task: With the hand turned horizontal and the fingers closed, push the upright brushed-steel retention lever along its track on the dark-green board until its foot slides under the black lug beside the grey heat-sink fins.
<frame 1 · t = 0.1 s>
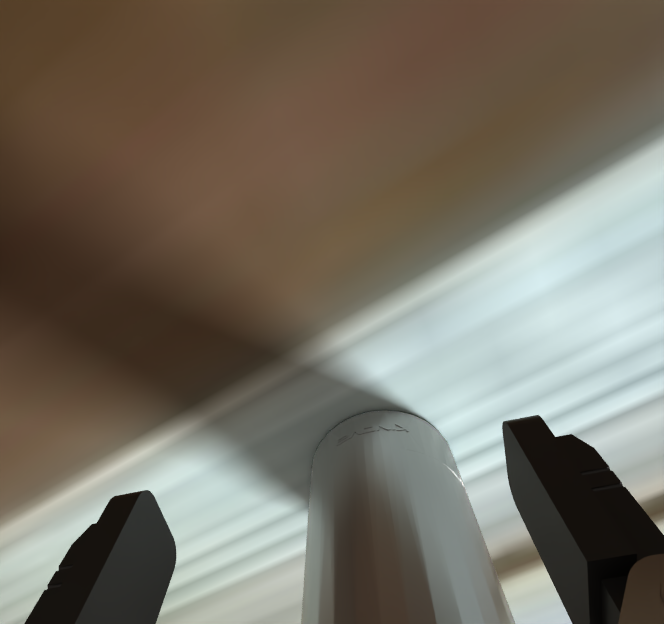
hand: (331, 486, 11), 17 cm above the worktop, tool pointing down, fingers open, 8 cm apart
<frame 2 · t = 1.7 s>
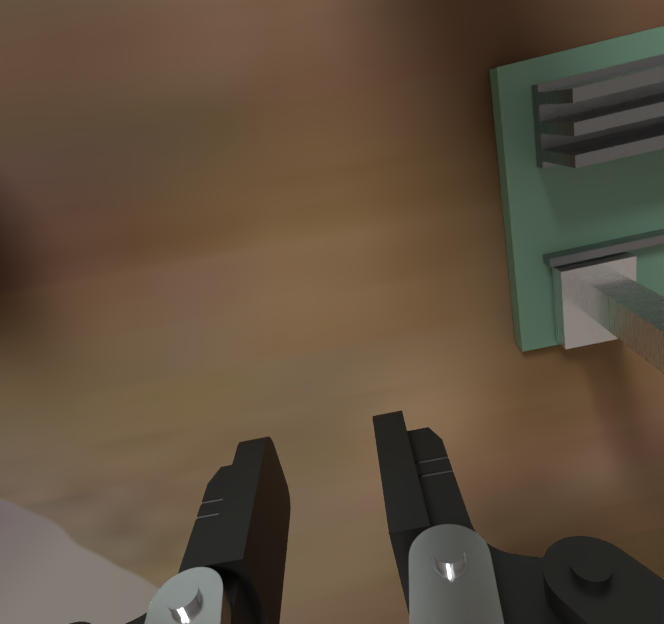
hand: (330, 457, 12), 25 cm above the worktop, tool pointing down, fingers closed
heatsink: (661, 185, 34), resting on board
board: (661, 185, 34), on the worktop
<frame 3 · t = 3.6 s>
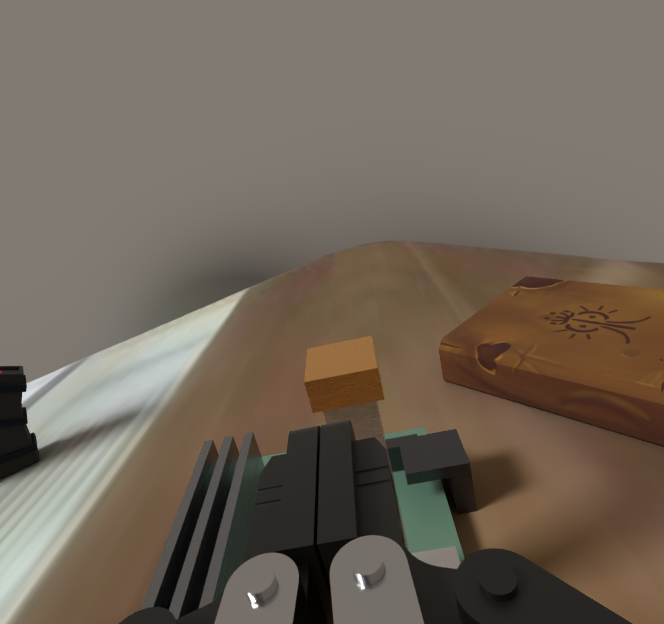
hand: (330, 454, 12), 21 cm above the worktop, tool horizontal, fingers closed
heatsink: (318, 559, 35), resting on board
diary: (591, 372, 50), on the worktop
clip lever: (393, 496, 25), point 10 cm above the worktop, slide at 0.0 cm
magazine: (0, 475, 55), on the worktop
board: (318, 559, 35), on the worktop
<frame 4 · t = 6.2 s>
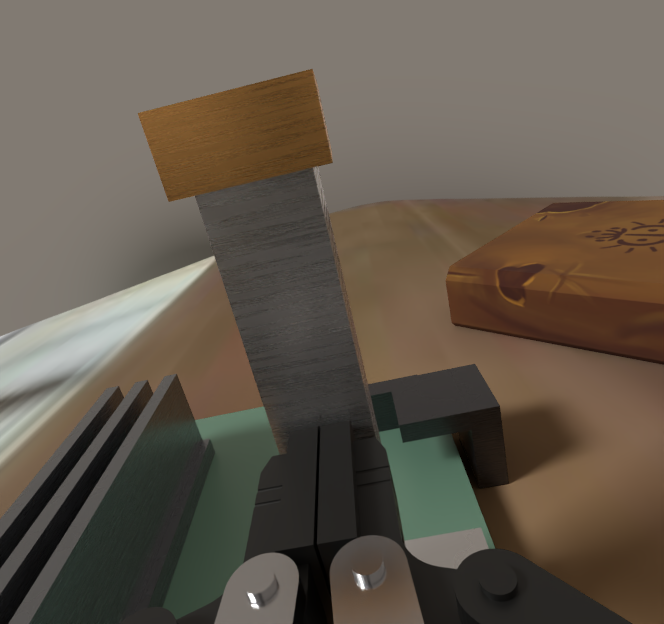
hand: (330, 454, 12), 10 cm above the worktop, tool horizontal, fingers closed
heatsink: (264, 560, 23), resting on board
diary: (650, 307, 37), on the worktop
clip lever: (367, 425, 13), point 10 cm above the worktop, slide at 0.3 cm, touching gripper
board: (264, 560, 23), on the worktop
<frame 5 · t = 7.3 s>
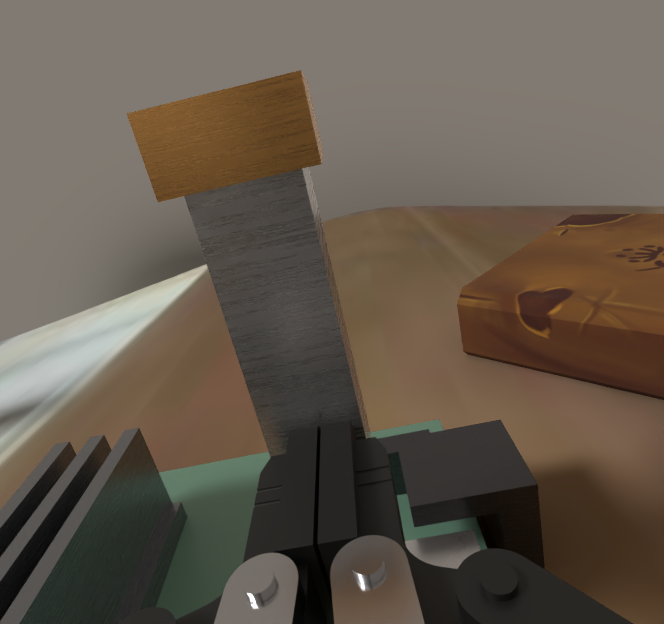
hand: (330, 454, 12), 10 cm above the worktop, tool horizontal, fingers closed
clip lever: (358, 426, 13), point 10 cm above the worktop, slide at 5.3 cm, touching gripper
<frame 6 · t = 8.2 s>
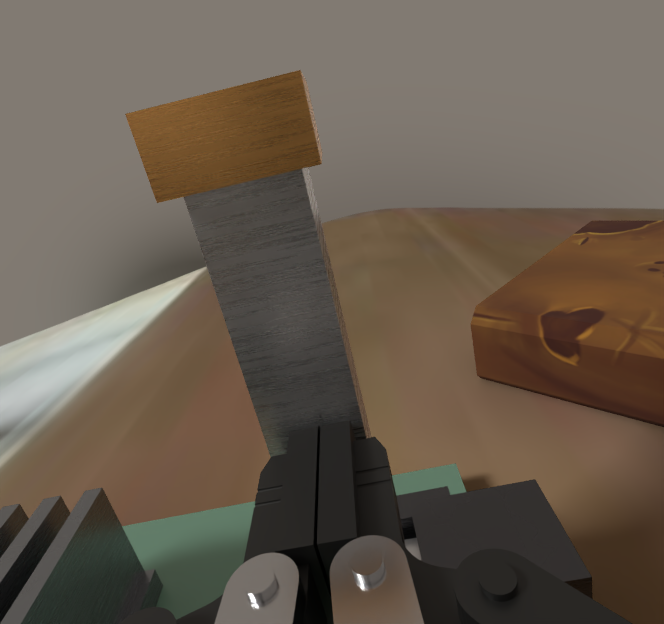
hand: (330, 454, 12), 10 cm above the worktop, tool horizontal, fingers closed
clip lever: (358, 426, 13), point 10 cm above the worktop, slide at 9.1 cm, touching gripper
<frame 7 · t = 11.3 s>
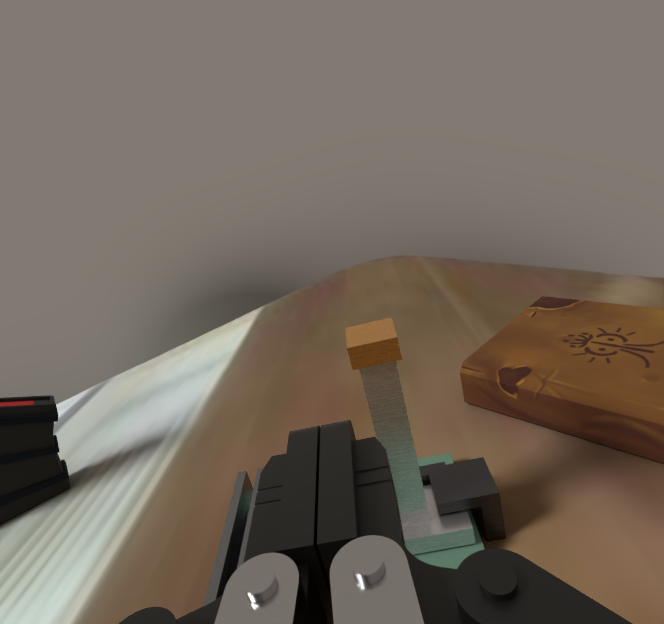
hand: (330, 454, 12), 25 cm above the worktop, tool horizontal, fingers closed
heatsink: (353, 588, 36), resting on board
diary: (611, 393, 51), on the worktop
clip lever: (408, 435, 35), point 10 cm above the worktop, slide at 9.0 cm
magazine: (33, 502, 57), on the worktop
board: (353, 588, 36), on the worktop
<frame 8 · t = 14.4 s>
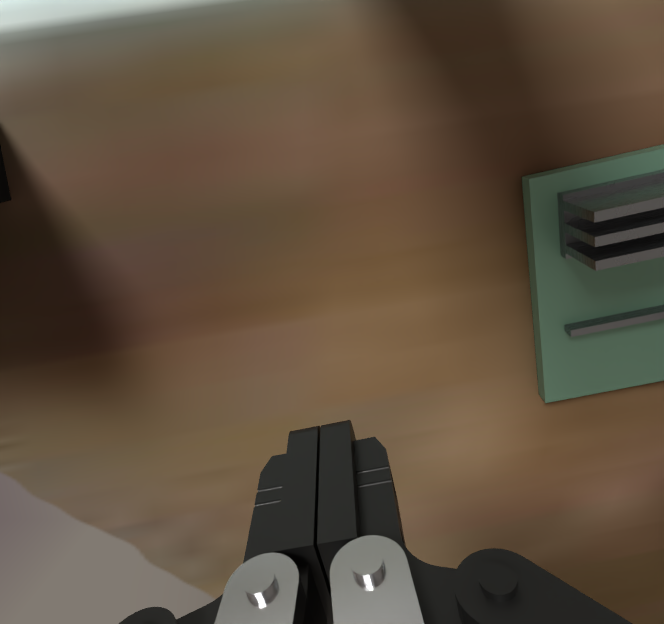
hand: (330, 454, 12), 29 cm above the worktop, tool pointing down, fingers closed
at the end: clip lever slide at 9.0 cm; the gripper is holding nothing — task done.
